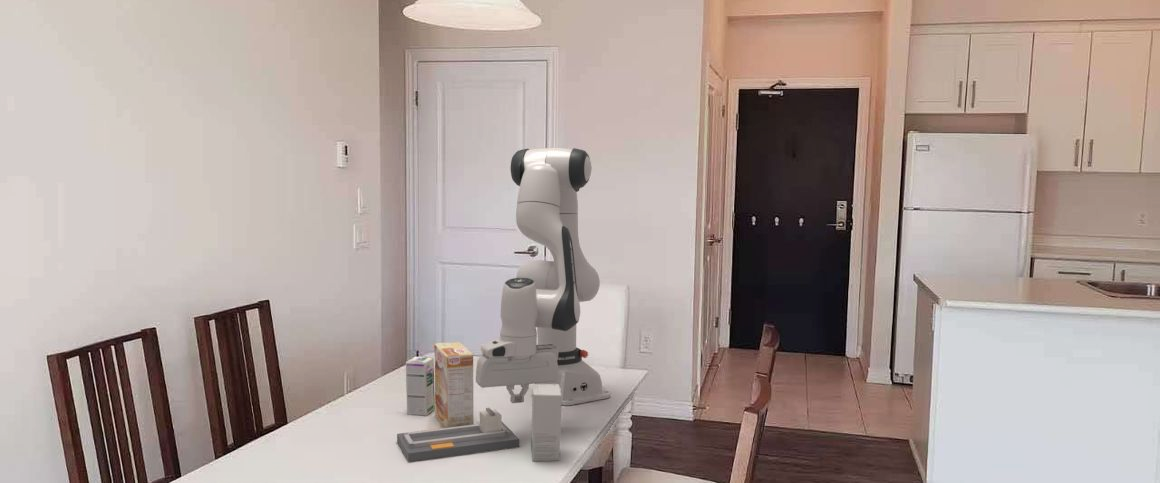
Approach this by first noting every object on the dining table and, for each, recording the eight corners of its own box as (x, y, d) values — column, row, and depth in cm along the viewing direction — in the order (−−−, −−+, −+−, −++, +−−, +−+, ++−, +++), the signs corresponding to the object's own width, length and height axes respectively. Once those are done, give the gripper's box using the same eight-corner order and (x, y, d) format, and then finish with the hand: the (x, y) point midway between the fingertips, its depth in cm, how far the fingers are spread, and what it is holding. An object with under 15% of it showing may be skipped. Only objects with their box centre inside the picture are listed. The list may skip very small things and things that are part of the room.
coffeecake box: (434, 415, 209) (433, 343, 207) (460, 413, 211) (460, 341, 210) (446, 433, 195) (445, 355, 193) (474, 430, 198) (474, 353, 196)
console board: (501, 428, 199) (501, 417, 199) (519, 447, 186) (519, 434, 186) (397, 441, 189) (396, 429, 188) (408, 462, 176) (408, 449, 176)
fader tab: (495, 427, 193) (495, 406, 193) (501, 433, 189) (501, 412, 188) (479, 429, 192) (479, 408, 191) (485, 435, 187) (485, 414, 187)
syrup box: (426, 416, 209) (426, 362, 207) (405, 414, 210) (405, 360, 208) (435, 409, 214) (434, 356, 213) (414, 408, 215) (414, 355, 214)
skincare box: (531, 448, 185) (531, 383, 184) (559, 448, 186) (559, 383, 184) (531, 462, 177) (532, 393, 175) (561, 461, 177) (562, 393, 176)
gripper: (553, 341, 198) (552, 395, 199) (474, 345, 190) (473, 402, 191) (563, 346, 192) (561, 402, 193) (481, 350, 184) (480, 409, 185)
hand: (517, 402), depth 192 cm, fingers closed
